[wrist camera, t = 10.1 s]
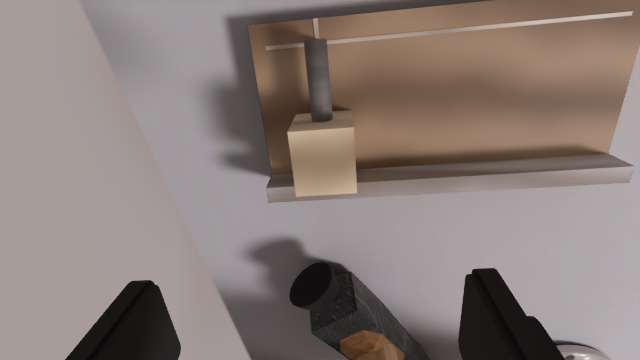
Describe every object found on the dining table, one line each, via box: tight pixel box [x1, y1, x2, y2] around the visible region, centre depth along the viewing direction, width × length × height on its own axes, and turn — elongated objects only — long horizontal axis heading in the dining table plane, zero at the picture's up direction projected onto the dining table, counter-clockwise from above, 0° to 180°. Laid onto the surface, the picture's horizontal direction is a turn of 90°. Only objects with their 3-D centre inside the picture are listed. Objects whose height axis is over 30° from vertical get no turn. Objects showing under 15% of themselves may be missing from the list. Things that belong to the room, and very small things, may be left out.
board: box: [247, 0, 640, 203], centre depth 23 cm, size 12×25×4 cm, turn 95°
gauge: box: [287, 38, 357, 197], centre depth 22 cm, size 9×4×4 cm, turn 5°
